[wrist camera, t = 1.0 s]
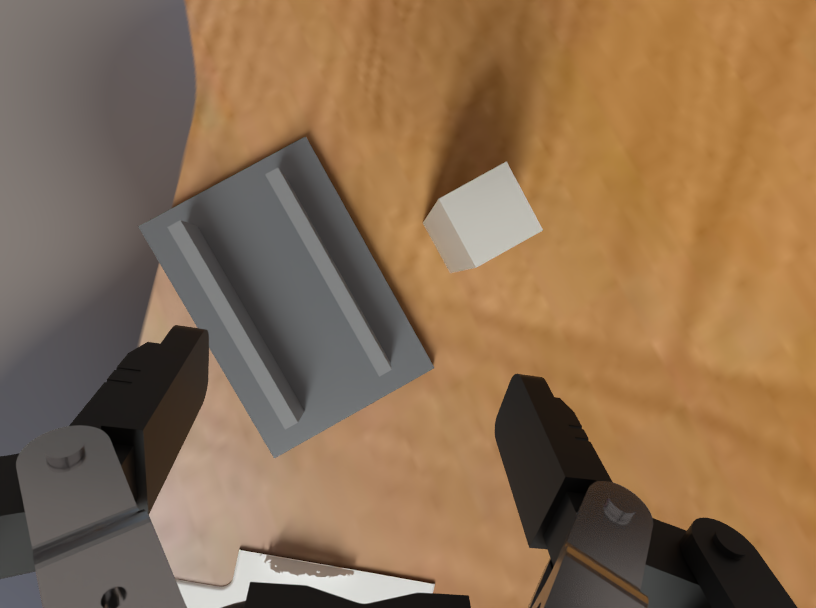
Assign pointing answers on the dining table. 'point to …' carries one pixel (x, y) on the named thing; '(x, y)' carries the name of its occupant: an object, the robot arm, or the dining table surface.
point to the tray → (298, 581)
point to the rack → (287, 296)
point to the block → (481, 220)
